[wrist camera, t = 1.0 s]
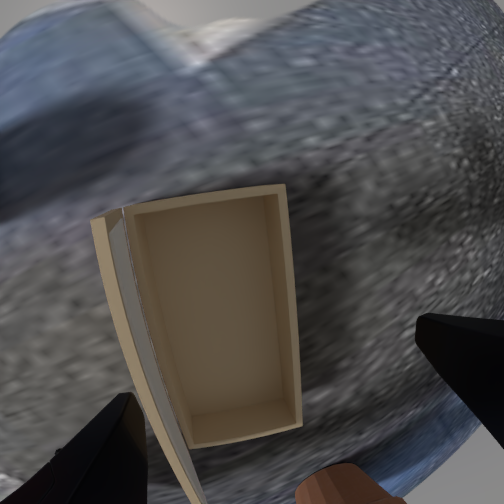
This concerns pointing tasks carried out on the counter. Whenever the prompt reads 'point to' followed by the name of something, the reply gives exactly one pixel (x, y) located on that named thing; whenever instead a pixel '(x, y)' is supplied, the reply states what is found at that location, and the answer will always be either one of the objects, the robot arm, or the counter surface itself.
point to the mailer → (221, 309)
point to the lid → (140, 346)
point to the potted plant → (343, 488)
